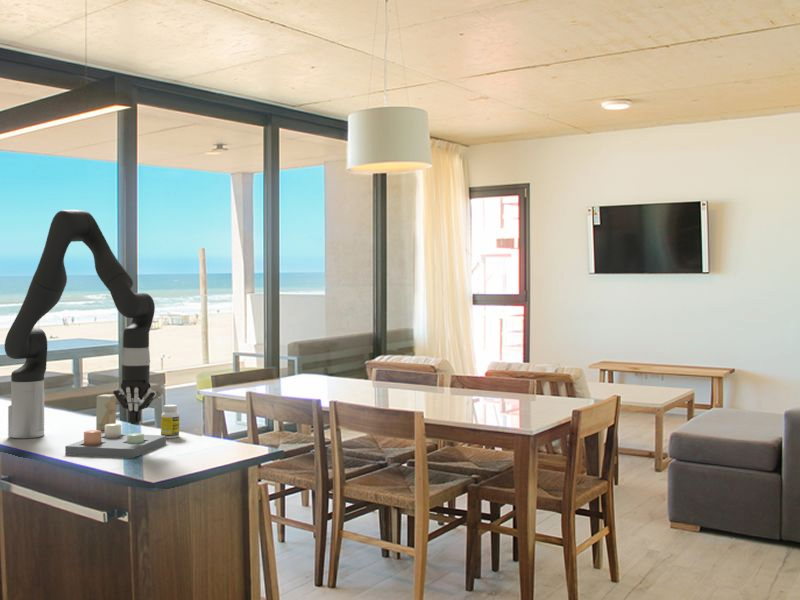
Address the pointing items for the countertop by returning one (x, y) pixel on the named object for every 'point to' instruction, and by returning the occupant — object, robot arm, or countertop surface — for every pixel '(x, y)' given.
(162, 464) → the countertop surface
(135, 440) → the sage button
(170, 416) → the supplement bottle
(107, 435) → the cream piece
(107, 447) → the panel
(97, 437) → the terracotta button
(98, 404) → the box
